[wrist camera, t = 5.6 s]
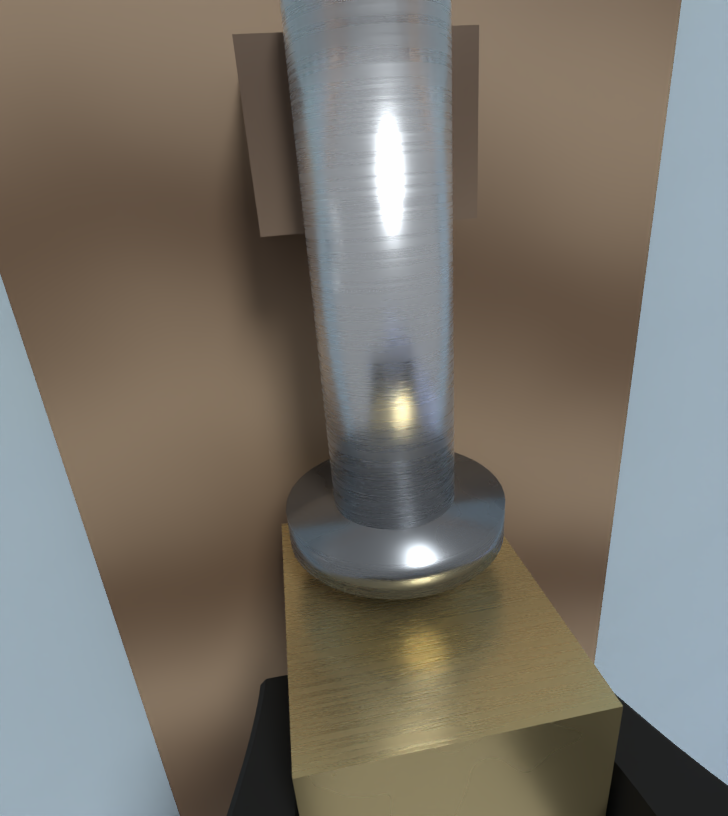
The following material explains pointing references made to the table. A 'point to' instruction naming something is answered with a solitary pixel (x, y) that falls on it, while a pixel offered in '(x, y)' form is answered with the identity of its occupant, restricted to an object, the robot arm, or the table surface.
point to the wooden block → (444, 701)
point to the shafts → (383, 303)
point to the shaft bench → (308, 309)
